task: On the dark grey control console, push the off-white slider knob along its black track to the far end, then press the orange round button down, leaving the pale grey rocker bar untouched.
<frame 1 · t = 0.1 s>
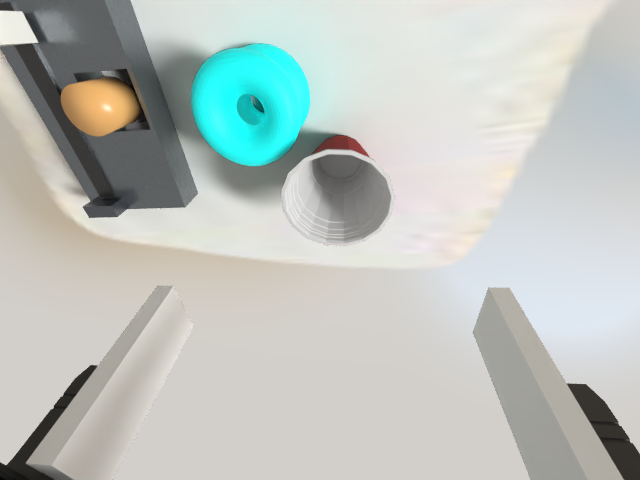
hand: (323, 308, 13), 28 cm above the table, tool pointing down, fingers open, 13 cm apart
plastic cup: (340, 158, 38), on the table
donuts: (268, 94, 34), on the table
orange button: (103, 105, 31), point 6 cm above the table, slide at 0.0 cm
console panel: (99, 68, 34), on the table
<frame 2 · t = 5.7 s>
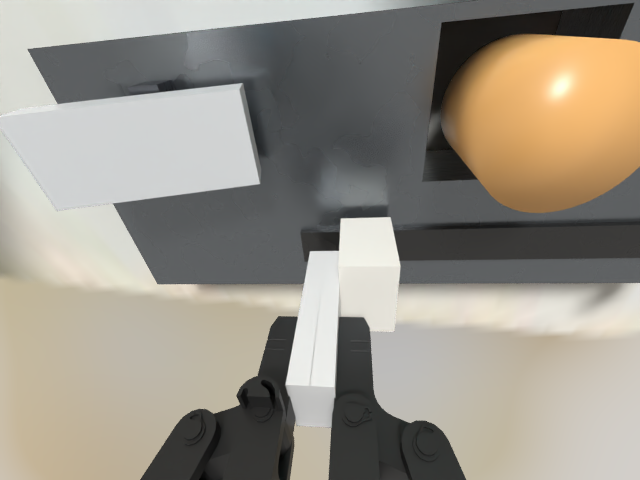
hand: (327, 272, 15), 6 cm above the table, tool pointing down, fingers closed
grey rocker: (148, 148, 12), point 6 cm above the table, hinge at 12.0°
orange button: (528, 118, 10), point 6 cm above the table, slide at 0.0 cm
slider knob: (366, 273, 14), point 6 cm above the table, slide at 1.4 cm, touching gripper
console panel: (408, 151, 17), on the table
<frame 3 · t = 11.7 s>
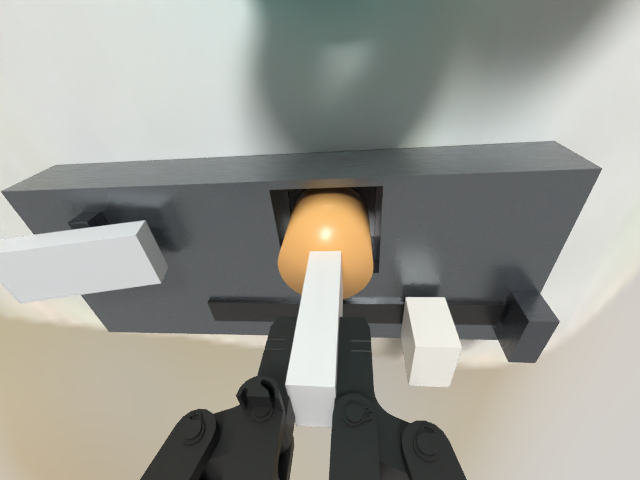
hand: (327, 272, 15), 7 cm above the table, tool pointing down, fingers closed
grey rocker: (82, 262, 17), point 6 cm above the table, hinge at 12.0°
orange button: (327, 240, 17), point 5 cm above the table, slide at 1.1 cm, touching gripper
slider knob: (426, 341, 19), point 6 cm above the table, slide at 12.9 cm
console panel: (294, 237, 23), on the table
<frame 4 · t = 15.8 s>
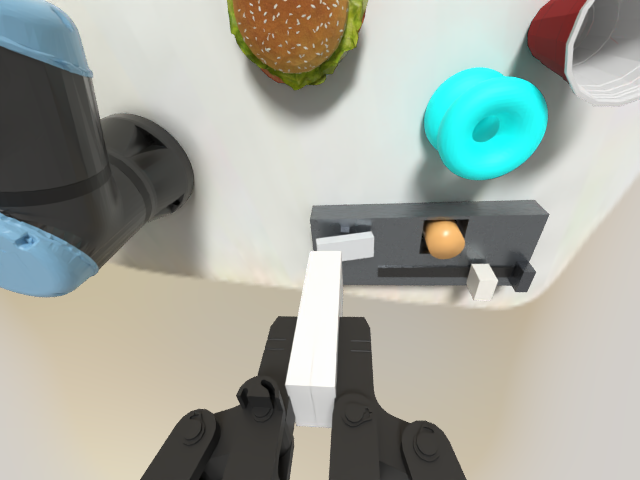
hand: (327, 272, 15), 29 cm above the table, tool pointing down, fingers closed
plastic cup: (558, 27, 31), on the table
donuts: (463, 112, 37), on the table
food: (301, 5, 32), on the table
grey rocker: (345, 247, 43), point 6 cm above the table, hinge at 12.0°
orange button: (442, 235, 43), point 4 cm above the table, slide at 2.0 cm
slider knob: (481, 282, 44), point 6 cm above the table, slide at 12.9 cm
console panel: (414, 238, 48), on the table
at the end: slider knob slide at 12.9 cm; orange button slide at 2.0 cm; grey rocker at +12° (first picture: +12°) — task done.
